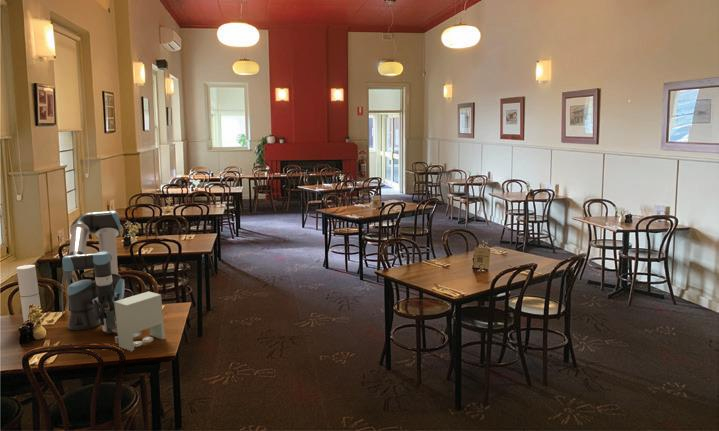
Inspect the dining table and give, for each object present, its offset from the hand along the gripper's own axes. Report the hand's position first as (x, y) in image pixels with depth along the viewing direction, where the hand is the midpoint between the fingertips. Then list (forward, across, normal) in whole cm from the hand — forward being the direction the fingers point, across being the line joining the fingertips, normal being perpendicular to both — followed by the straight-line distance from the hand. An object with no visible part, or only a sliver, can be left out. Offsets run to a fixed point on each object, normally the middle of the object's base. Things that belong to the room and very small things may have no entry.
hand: (109, 329), depth 288 cm
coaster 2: (+3, +6, -24) cm, 24 cm away
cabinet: (+3, +3, -24) cm, 24 cm away
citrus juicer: (+3, +3, +46) cm, 46 cm away
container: (+3, -13, +53) cm, 55 cm away
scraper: (+1, 0, -7) cm, 8 cm away
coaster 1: (+3, 0, -24) cm, 24 cm away
